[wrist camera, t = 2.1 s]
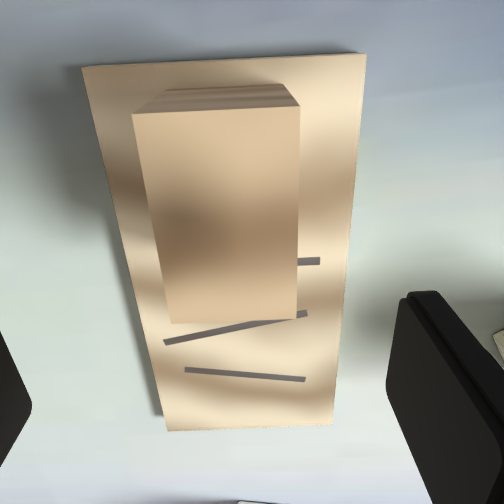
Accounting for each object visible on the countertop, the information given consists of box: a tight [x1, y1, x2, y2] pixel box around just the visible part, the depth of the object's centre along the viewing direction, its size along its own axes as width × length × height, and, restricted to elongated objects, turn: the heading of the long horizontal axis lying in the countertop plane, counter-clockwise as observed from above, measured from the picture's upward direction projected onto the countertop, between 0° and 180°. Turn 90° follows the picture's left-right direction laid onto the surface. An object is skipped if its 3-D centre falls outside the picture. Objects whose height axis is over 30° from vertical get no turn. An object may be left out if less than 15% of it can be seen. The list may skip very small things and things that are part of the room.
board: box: [81, 53, 367, 431], centre depth 22 cm, size 24×12×1 cm, turn 2°
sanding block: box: [131, 84, 300, 324], centre depth 16 cm, size 8×5×6 cm, turn 3°
